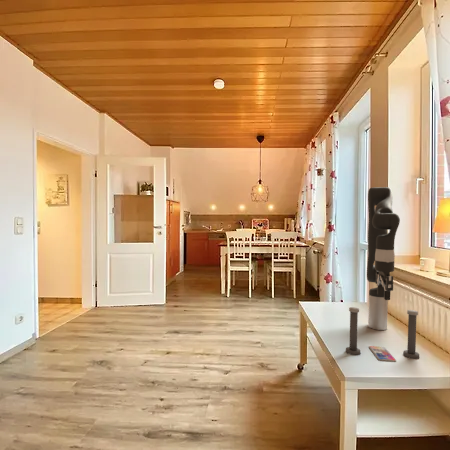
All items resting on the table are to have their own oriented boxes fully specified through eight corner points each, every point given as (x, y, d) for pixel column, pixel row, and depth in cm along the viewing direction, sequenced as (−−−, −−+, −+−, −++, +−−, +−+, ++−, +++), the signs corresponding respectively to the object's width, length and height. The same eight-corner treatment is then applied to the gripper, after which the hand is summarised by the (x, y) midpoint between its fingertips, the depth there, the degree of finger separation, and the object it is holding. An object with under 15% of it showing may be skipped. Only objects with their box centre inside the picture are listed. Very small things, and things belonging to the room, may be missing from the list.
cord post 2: (401, 352, 148) (402, 308, 148) (415, 353, 148) (416, 309, 147) (406, 358, 142) (408, 312, 142) (421, 359, 142) (423, 313, 141)
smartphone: (385, 346, 153) (397, 360, 138) (385, 349, 153) (397, 363, 138) (368, 345, 154) (378, 359, 139) (367, 347, 154) (378, 361, 139)
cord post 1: (344, 349, 151) (345, 306, 150) (358, 350, 150) (359, 306, 150) (347, 354, 145) (348, 310, 145) (362, 355, 144) (363, 310, 144)
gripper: (370, 257, 153) (369, 293, 153) (381, 261, 138) (380, 301, 139) (387, 257, 152) (386, 294, 152) (400, 262, 138) (399, 302, 138)
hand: (383, 297), depth 146 cm, fingers open, 8 cm apart
